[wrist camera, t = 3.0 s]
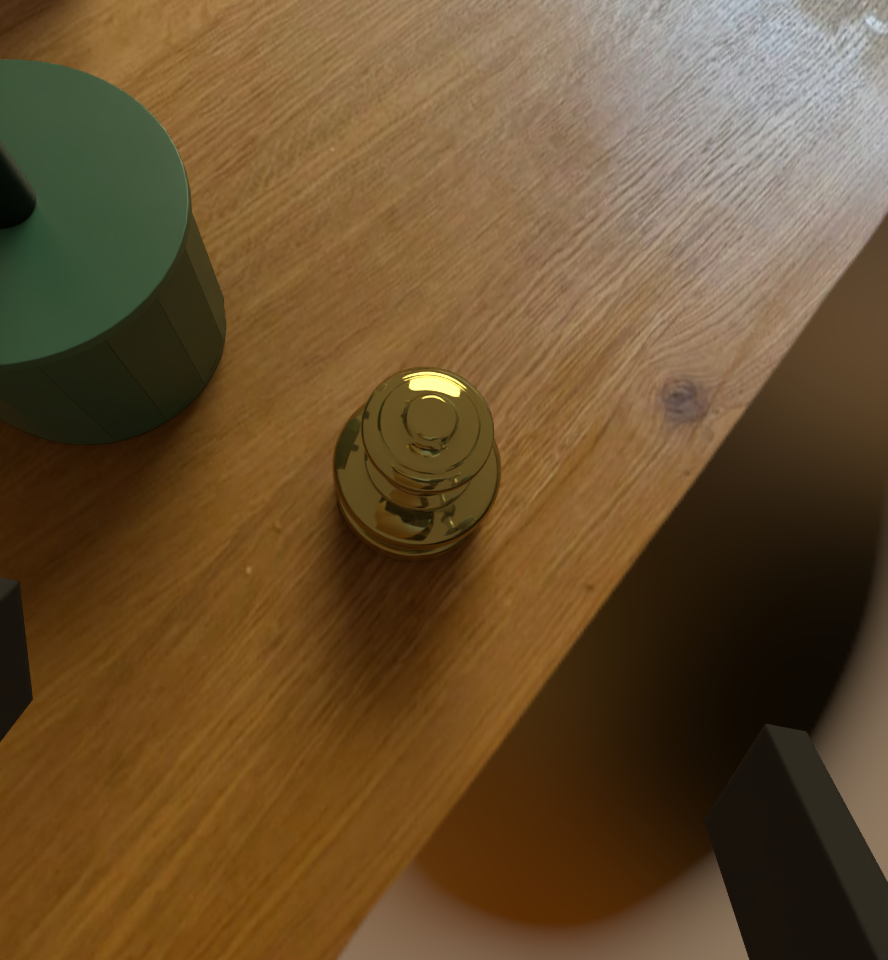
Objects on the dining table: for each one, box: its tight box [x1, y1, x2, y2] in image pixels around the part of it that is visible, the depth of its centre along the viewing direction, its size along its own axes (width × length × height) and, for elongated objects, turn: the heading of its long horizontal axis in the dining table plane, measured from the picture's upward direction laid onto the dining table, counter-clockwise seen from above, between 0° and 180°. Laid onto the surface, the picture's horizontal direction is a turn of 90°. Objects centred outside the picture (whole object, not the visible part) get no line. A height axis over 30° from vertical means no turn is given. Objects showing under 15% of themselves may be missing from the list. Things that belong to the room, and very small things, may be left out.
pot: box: [0, 214, 226, 445], centre depth 29 cm, size 12×12×9 cm
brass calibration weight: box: [333, 367, 501, 561], centre depth 28 cm, size 7×7×10 cm
